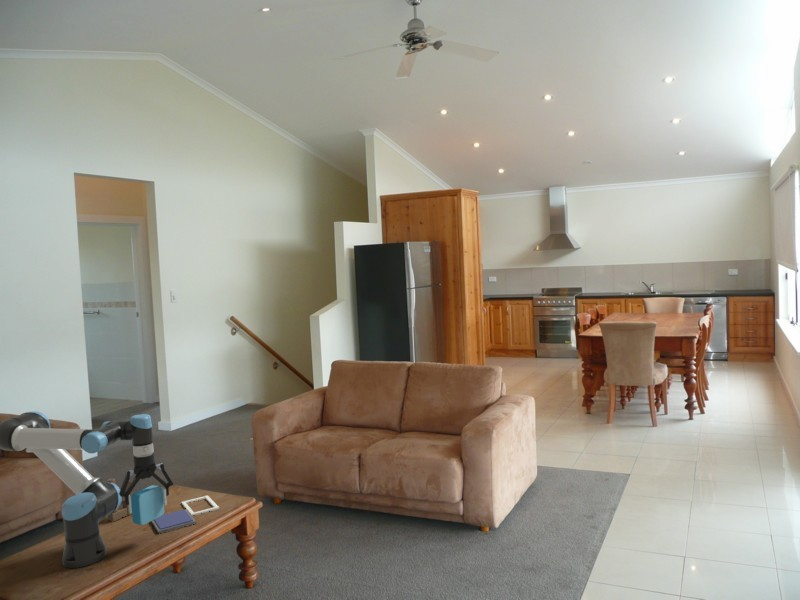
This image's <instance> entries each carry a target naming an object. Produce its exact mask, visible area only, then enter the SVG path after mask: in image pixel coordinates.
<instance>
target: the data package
mask: <svg viewBox="0 0 800 600" xmlns="http://www.w3.org/2000/svg"><path fill="white" fill-rule="evenodd" d="M131 505H132V514H131V517H132V523H133V524H135V525H140V526H141V525H142V526H145V525H147V524H149V523H150V522H151V521H153V520H154V519H156V518H158V517H160V516H162V515H165V504H164V501H163V488H162V486H161V485H160V486H159V485H150V486H147V487H145V488H142V489H141V490H138V491H136V492H133V494H132V496H131ZM151 523H152V522H151Z"/></svg>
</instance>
